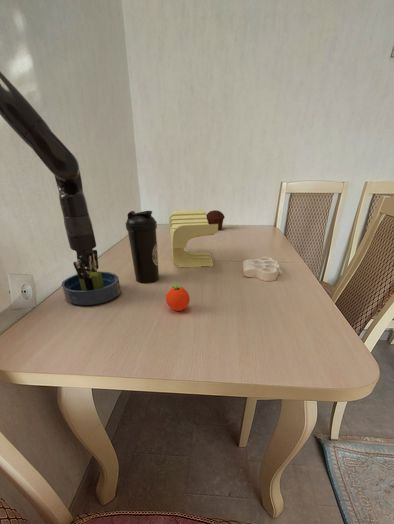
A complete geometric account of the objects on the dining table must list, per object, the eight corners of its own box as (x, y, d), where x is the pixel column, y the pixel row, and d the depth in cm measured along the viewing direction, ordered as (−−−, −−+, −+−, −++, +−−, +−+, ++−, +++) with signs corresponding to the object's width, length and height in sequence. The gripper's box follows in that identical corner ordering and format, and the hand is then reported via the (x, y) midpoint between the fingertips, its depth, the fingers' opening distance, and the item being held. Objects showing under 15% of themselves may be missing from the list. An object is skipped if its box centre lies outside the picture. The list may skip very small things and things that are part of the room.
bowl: (56, 306, 91) (51, 291, 88) (78, 284, 105) (74, 271, 103) (112, 307, 90) (109, 292, 87) (126, 285, 104) (124, 271, 102)
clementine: (162, 305, 90) (160, 283, 86) (183, 301, 93) (182, 279, 89) (171, 316, 84) (169, 293, 80) (193, 312, 87) (193, 289, 83)
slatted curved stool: (171, 253, 136) (168, 211, 126) (205, 251, 138) (205, 209, 128) (175, 275, 112) (172, 225, 102) (216, 273, 113) (218, 224, 103)
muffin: (210, 232, 169) (211, 213, 163) (201, 228, 177) (201, 210, 172) (228, 229, 174) (228, 211, 168) (218, 226, 182) (218, 208, 176)
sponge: (82, 291, 95) (78, 276, 92) (86, 286, 98) (83, 271, 95) (100, 291, 95) (97, 276, 92) (104, 286, 98) (101, 271, 95)
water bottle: (159, 284, 105) (153, 214, 92) (131, 284, 105) (120, 214, 92) (162, 274, 113) (157, 208, 100) (136, 274, 113) (127, 209, 101)
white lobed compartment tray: (242, 264, 121) (278, 265, 120) (243, 280, 107) (284, 281, 105) (242, 256, 120) (279, 257, 118) (244, 271, 105) (286, 272, 103)
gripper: (77, 226, 92) (89, 278, 102) (56, 237, 81) (72, 295, 90) (100, 226, 92) (110, 278, 102) (83, 237, 80) (96, 295, 90)
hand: (92, 286), depth 96 cm, fingers closed on sponge, 4 cm apart
